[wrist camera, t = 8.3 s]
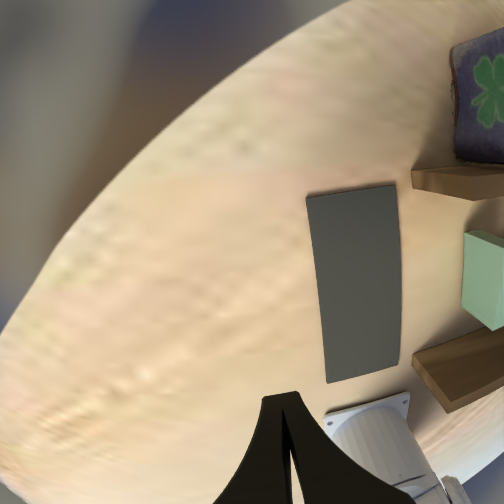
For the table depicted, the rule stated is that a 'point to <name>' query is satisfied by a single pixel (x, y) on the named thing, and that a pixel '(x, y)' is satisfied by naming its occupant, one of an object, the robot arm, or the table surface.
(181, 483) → the table surface
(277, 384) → the table surface
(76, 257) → the table surface
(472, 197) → the tunnel
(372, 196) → the mat
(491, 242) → the teal block
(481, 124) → the flask
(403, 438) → the robot arm
